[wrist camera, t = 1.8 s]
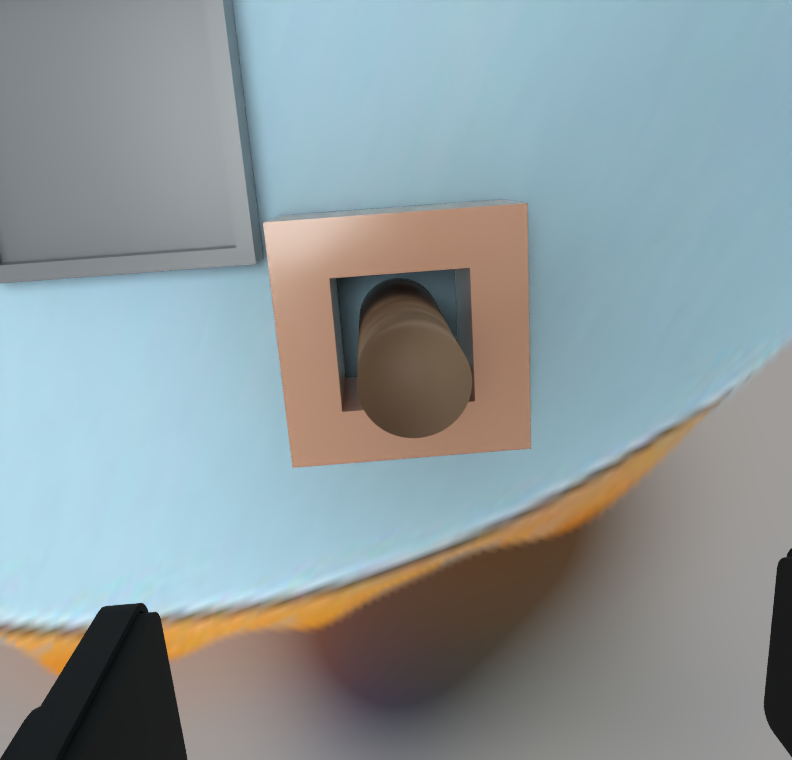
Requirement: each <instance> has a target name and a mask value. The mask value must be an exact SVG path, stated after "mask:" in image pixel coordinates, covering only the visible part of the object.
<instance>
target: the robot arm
mask: <svg viewBox="0 0 792 760" xmlns="http://www.w3.org/2000/svg"><path fill="white" fill-rule="evenodd" d="M764 710H765V715H766V718H767V721H768V724H769V726H770V728H771V729H772V731H773V732H774V734H775V735H776V737H777V738H778V739H779V741H780V742H781V743H782V744H783V746H784V747H785V748H786V750H787V751H788V753H789V754H790V755H791V757H792V549H790V550H789V552H788V554H787V557H785V558H782V559H781V560H780V561H779V563H778V566H777V575H776V585H775V595H774V605H773V616H772V625H771V636H770V647H769V657H768V666H767V677H766V686H765V696H764ZM0 760H187V755H186V749H185V744H184V739H183V733H182V728H181V723H180V718H179V712H178V707H177V702H176V697H175V692H174V686H173V681H172V676H171V671H170V665H169V660H168V655H167V649H166V644H165V639H164V633H163V628H162V623H161V619H160V616H159V614H158V613H157V612H150V613H148V609H147V608H146V606H145V605H144V604H143V603H137V604H125V605H114V606H105V607H102V608H101V609H100V611H99V612H98V613H97V615H96V617H95V618H94V620H93V622H92V623H91V625H90V626H89V628H88V630H87V631H86V633H85V635H84V636H83V638H82V639H81V641H80V643H79V644H78V646H77V648H76V649H75V651H74V652H73V654H72V656H71V657H70V659H69V661H68V662H67V664H66V666H65V667H64V669H63V670H62V672H61V674H60V675H59V677H58V679H57V680H56V682H55V683H54V685H53V687H52V688H51V690H50V692H49V693H48V695H47V696H46V698H45V700H44V701H43V703H42V705H41V706H40V707H38V708H36V709H34V710H33V711H32V712H31V713H30V714H29V715H28V716H27V718H26V719H25V720H24V722H23V723H22V725H21V727H20V728H19V730H18V731H17V733H16V735H15V736H14V738H13V739H12V741H11V743H10V744H9V746H8V747H7V749H6V750H5V752H4V754H3V755H2V757H1V759H0Z"/></svg>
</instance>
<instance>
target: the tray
mask: <svg viewBox="0 0 792 760" xmlns="http://www.w3.org/2000/svg"><path fill="white" fill-rule="evenodd" d="M263 258H264V257H263V249H262V241H261V233H260V225H259V217H258V208H257V200H256V192H255V184H254V176H253V168H252V160H251V151H250V143H249V135H248V127H247V119H246V111H245V102H244V94H243V86H242V78H241V70H240V62H239V54H238V45H237V37H236V29H235V21H234V13H233V5H232V0H0V283H10V282H24V281H37V280H51V279H64V278H77V277H91V276H104V275H118V274H131V273H145V272H158V271H172V270H185V269H198V268H212V267H225V266H239V265H252V264H257V263H258V262H259V261H261V260H262V259H263Z"/></svg>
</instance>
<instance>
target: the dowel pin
mask: <svg viewBox="0 0 792 760" xmlns="http://www.w3.org/2000/svg"><path fill="white" fill-rule="evenodd" d="M471 389H472V375H471V369H470V366H469V363H468V361H467V358H466V357H465V355H464V353H463V351H462V349H461V348H460V346H459V344H458V342H457V341H456V339H455V337H454V335H453V333H452V332H451V330H450V328H449V326H448V325H447V323H446V321H445V319H444V317H443V316H442V314H441V312H440V310H439V309H438V307H437V305H436V303H435V302H434V300H433V298H432V296H431V295H430V293H429V292H428V291H427V290H426V289H425V288H424V287H423V286H421V285H420V284H418V283H416V282H414V281H412V280H408V279H402V278H396V279H390V280H386V281H384V282H381V283H380V284H378V285H376V286H375V287H374V288H372V289H371V290H370V291H369V293H368V294H367V295H366V297H365V299H364V300H363V303H362V305H361V309H360V320H359V344H358V369H357V391H358V397H359V400H360V403H361V405H362V408H363V410H364V411H365V413H366V414H367V416H368V417H369V418H370V419H371V421H372V422H374V423H375V424H376V425H377V426H378V427H380V428H381V429H382V430H384V431H386V432H388V433H390V434H393V435H395V436H399V437H404V438H422V437H428V436H431V435H434V434H437V433H439V432H441V431H443V430H445V429H446V428H448V427H449V426H450V425H452V424H453V423H454V422H455V421H456V420H457V419H458V418H459V416H460V415H461V414H462V412H463V411H464V409H465V408H466V406H467V403H468V401H469V398H470V395H471Z"/></svg>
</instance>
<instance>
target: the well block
mask: <svg viewBox="0 0 792 760" xmlns="http://www.w3.org/2000/svg"><path fill="white" fill-rule="evenodd" d="M263 227H264V235H265V243H266V252H267V260H268V268H269V276H270V285H271V293H272V301H273V309H274V318H275V326H276V334H277V342H278V351H279V359H280V367H281V375H282V384H283V392H284V400H285V409H286V417H287V425H288V433H289V442H290V450H291V458H292V466H293V468H295V467H308V466H320V465H332V464H345V463H357V462H369V461H382V460H394V459H406V458H419V457H431V456H444V455H456V454H468V453H481V452H493V451H505V450H518V449H530V448H531V418H530V347H529V275H528V204H527V203H523V202H517V201H510V200H504V199H499V200H486V201H472V202H458V203H444V204H431V205H417V206H403V207H389V208H376V209H362V210H348V211H335V212H321V213H307V214H293V215H280V216H277V217H274V218H272V219H270V220H268V221H265V222H263ZM448 269H455V287H456V309H457V332H458V344H459V346H460V348H461V349H462V351H463V353H464V355H465V357H466V358H467V361H468V363H469V366H470V369H471V375H472V389H471V395H470V398H469V401H468V403H467V406H466V408H465V409H464V411H463V412H462V414H461V415H460V416H459V418H458V419H457V420H456V421H455V422H454V423H453V424H452V425H450V426H449V427H448V428H446V429H445V430H443V431H441V432H439V433H437V434H434V435H431V436H428V437H422V438H404V437H399V436H395V435H393V434H390V433H388V432H386V431H384V430H382V429H381V428H380V427H378V426H377V425H376V424H375V423H374V422H372V421H371V419H370V418H369V417H368V416H367V414H366V413H365V411H364V410H363V408H362V405H361V403H360V400H359V397H358V391H357V377H349V378H346V377H345V367H344V356H343V345H342V335H341V324H340V313H339V302H338V292H337V281H336V278H341V277H355V276H368V275H381V274H395V273H408V272H421V271H435V270H448Z"/></svg>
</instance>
